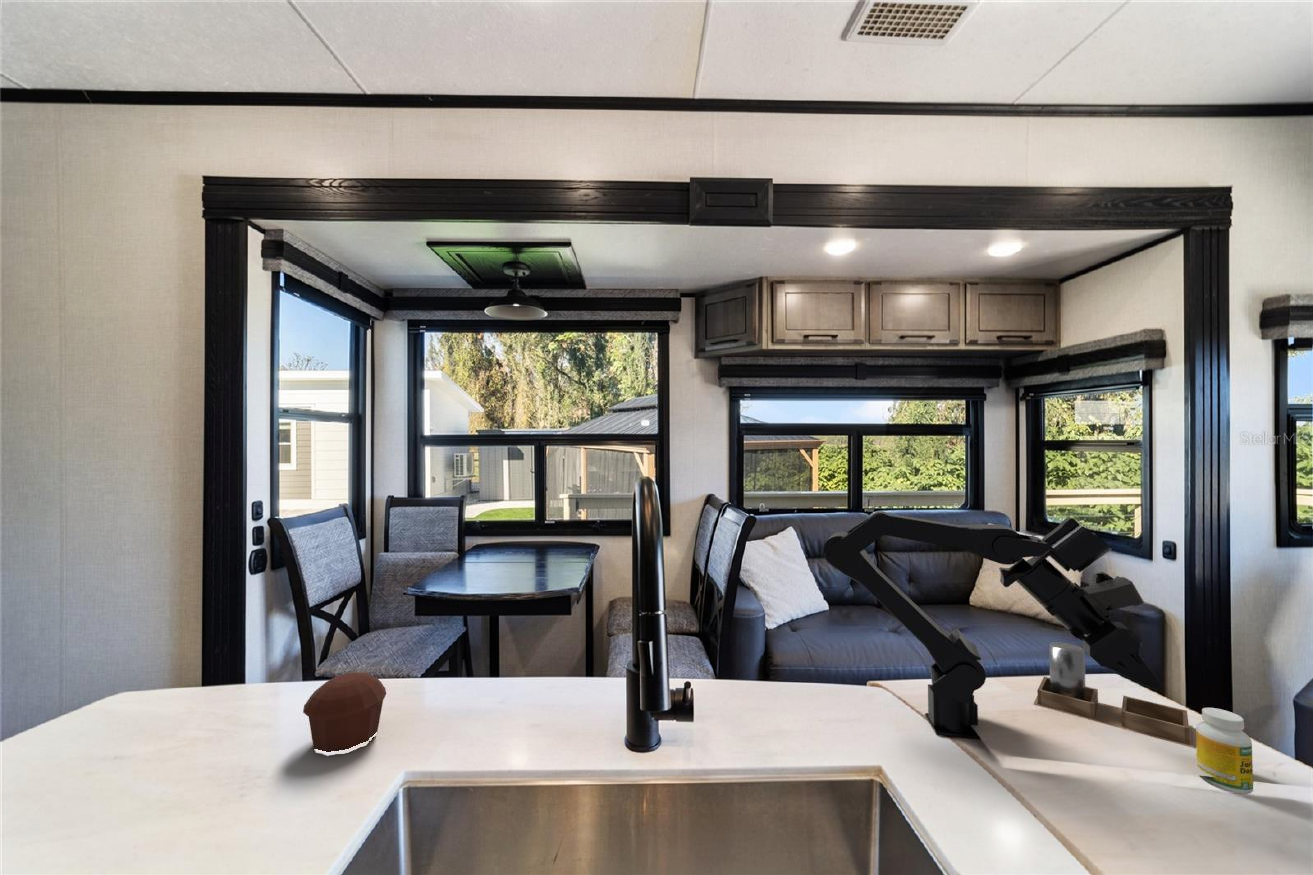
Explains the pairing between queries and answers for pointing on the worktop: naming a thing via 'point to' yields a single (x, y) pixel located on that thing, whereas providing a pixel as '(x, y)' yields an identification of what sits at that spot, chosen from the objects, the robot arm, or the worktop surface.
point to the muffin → (345, 711)
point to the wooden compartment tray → (1123, 714)
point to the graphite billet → (1067, 670)
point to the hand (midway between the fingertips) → (1145, 675)
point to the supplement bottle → (1224, 751)
